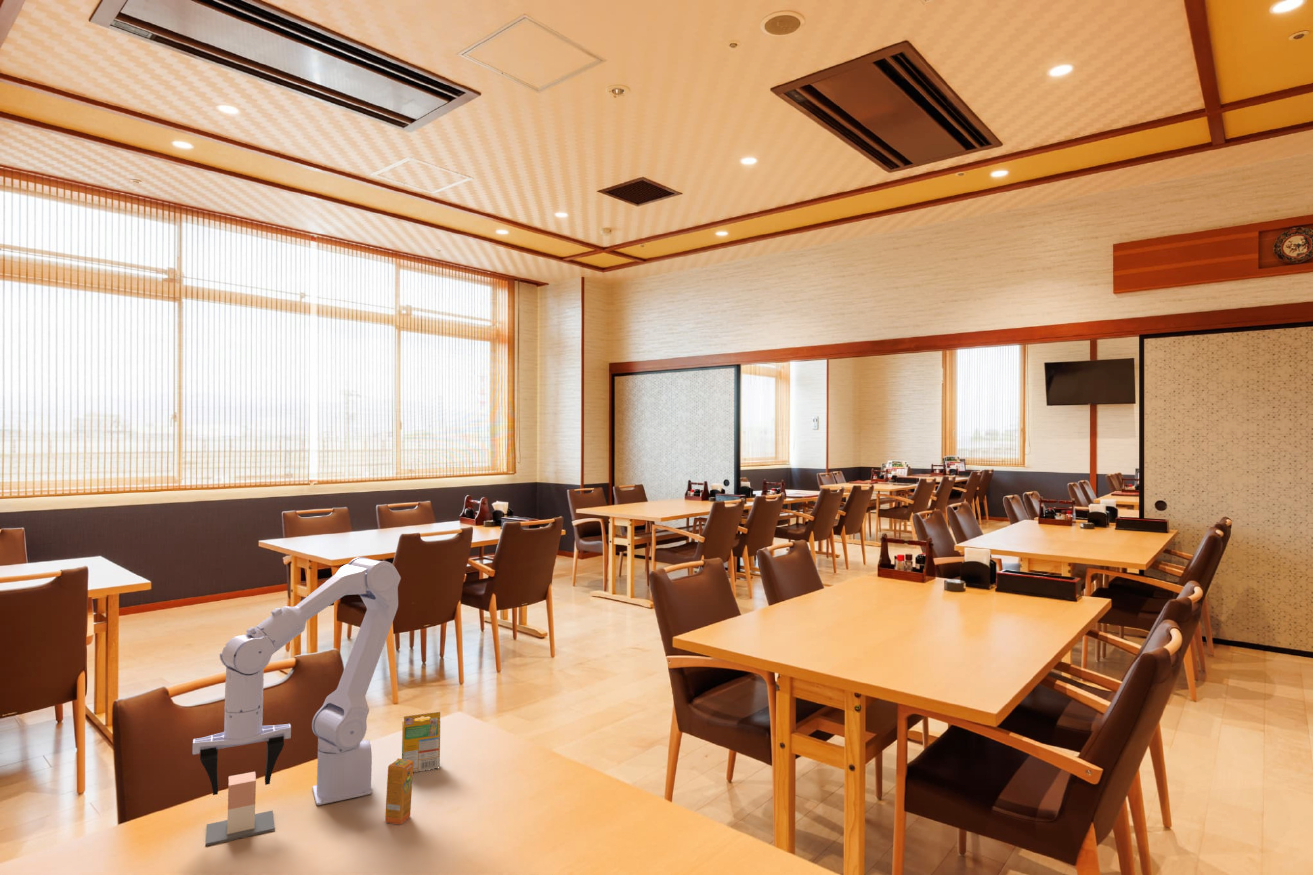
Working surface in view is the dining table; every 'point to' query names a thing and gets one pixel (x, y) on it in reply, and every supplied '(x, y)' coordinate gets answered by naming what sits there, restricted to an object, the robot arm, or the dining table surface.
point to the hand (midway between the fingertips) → (241, 787)
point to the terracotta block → (241, 790)
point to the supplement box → (399, 791)
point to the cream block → (241, 819)
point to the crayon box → (421, 741)
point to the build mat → (219, 831)
